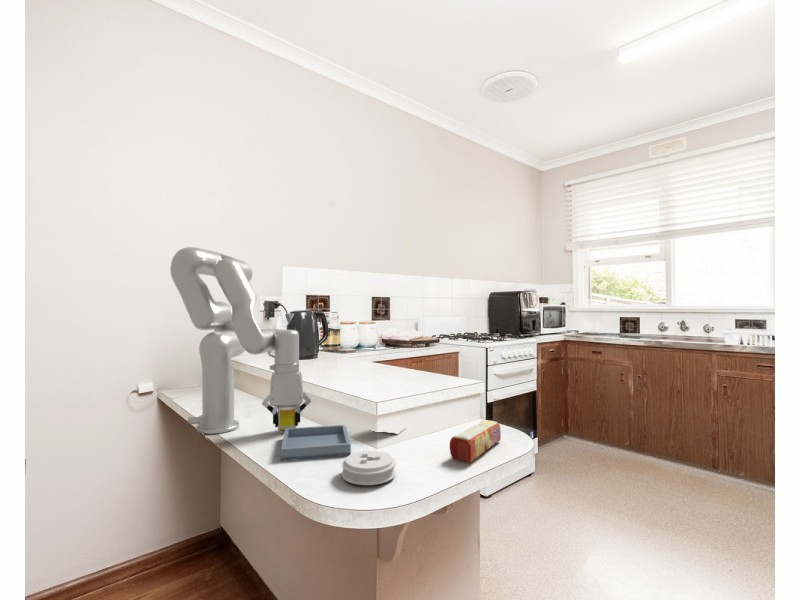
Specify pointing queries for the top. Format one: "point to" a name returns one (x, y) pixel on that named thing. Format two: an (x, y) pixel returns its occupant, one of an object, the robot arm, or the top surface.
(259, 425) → the top surface
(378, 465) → the lid
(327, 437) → the tray
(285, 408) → the supplement bottle
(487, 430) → the snack package
